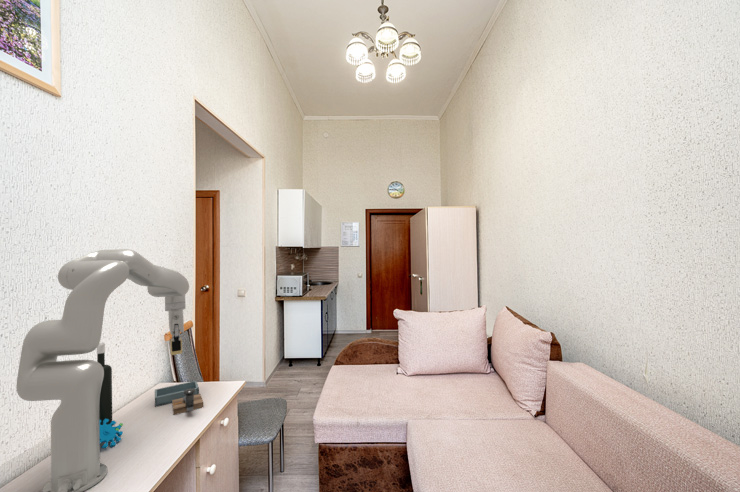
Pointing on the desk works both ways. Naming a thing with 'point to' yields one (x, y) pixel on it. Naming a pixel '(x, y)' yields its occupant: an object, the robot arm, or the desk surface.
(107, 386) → the wine bottle
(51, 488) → the robot arm
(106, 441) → the blue lobed piece
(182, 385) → the tray
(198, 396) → the crank base
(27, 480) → the desk surface
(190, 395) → the crank
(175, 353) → the block
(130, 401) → the desk surface
